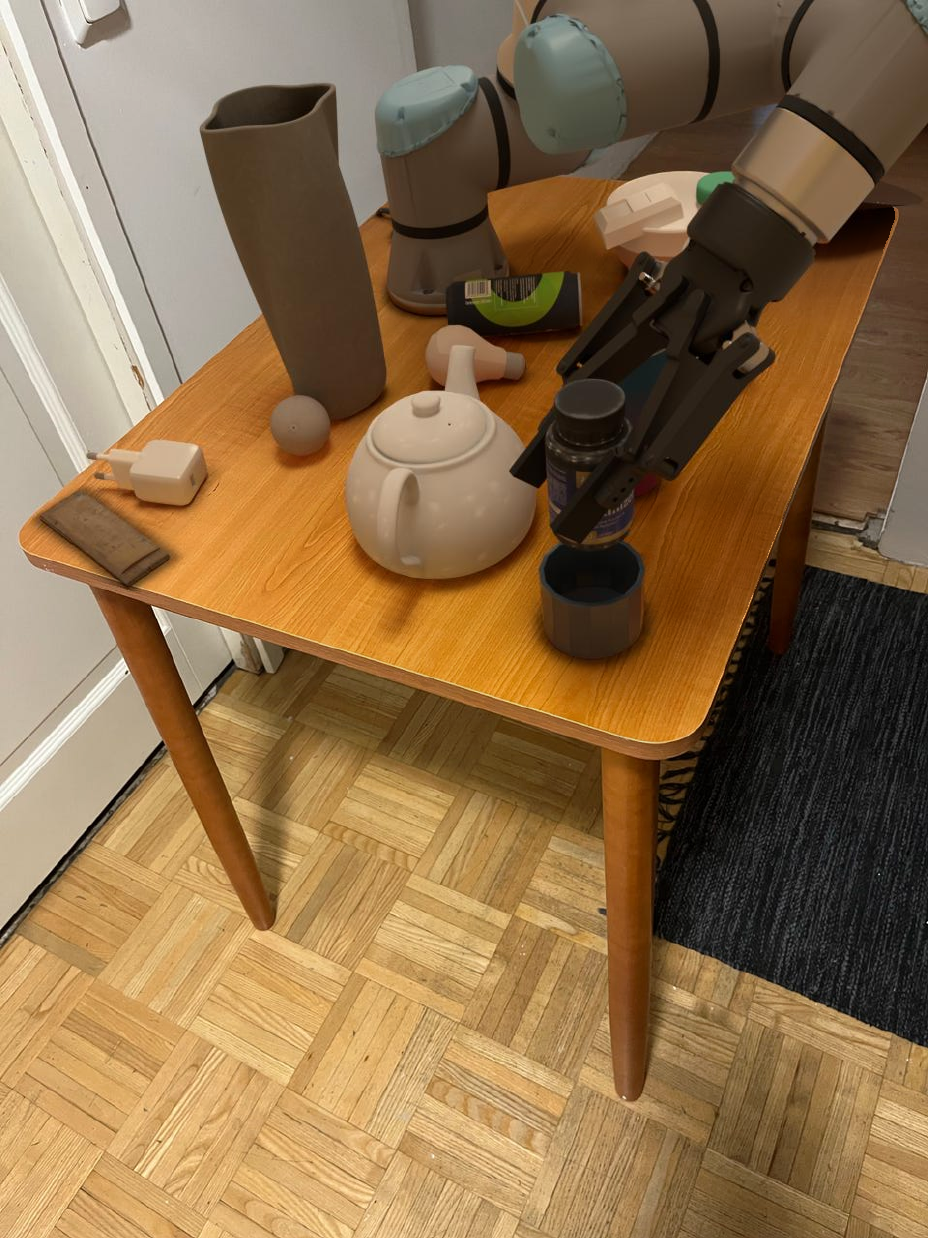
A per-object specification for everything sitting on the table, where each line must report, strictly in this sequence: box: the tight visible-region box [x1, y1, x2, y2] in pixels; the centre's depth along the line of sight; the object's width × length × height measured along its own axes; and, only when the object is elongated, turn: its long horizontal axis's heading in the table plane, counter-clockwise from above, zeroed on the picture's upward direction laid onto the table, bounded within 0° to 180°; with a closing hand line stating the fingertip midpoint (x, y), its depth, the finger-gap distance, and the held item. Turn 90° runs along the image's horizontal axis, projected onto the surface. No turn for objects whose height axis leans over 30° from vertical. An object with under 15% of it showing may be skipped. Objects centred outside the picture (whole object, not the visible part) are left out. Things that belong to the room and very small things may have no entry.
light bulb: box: [424, 325, 527, 387], centre depth 101 cm, size 7×7×11 cm
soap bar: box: [593, 183, 684, 250], centre depth 107 cm, size 5×9×3 cm, turn 98°
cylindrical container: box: [538, 540, 646, 660], centre depth 75 cm, size 8×8×6 cm
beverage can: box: [446, 270, 583, 338], centre depth 107 cm, size 6×6×15 cm
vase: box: [198, 82, 388, 422], centre depth 93 cm, size 12×12×30 cm
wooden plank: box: [38, 489, 171, 587], centre depth 91 cm, size 17×1×5 cm
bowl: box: [605, 170, 710, 272], centre depth 113 cm, size 16×16×8 cm
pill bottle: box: [545, 379, 635, 551], centre depth 66 cm, size 6×6×11 cm
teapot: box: [344, 345, 538, 580], centre depth 82 cm, size 19×18×14 cm
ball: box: [269, 394, 331, 457], centre depth 96 cm, size 6×6×6 cm
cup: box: [617, 349, 666, 498], centre depth 83 cm, size 7×7×15 cm
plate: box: [691, 161, 924, 211], centre depth 118 cm, size 28×28×4 cm
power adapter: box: [85, 439, 208, 506], centre depth 95 cm, size 11×5×6 cm
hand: (544, 506), depth 66 cm, fingers closed on pill bottle, 6 cm apart
